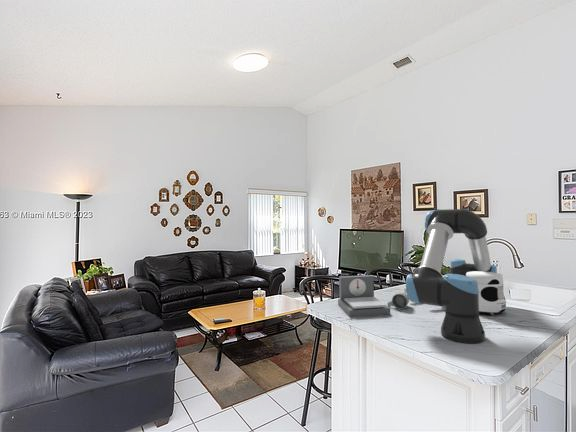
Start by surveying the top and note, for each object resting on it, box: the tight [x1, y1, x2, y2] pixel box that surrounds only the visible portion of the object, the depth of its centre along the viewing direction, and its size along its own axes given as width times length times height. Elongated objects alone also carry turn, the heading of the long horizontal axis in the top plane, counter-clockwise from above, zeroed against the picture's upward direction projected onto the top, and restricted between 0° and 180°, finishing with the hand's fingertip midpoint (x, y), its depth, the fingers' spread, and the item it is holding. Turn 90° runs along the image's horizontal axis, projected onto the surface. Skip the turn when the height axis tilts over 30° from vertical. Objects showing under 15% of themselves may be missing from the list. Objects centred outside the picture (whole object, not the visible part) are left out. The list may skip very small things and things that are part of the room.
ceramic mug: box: [386, 291, 410, 310], centre depth 169 cm, size 11×8×8 cm
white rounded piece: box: [466, 271, 507, 315], centre depth 158 cm, size 17×17×18 cm
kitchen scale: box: [337, 274, 391, 318], centre depth 166 cm, size 22×20×15 cm
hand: (413, 293), depth 172 cm, fingers open, 13 cm apart
